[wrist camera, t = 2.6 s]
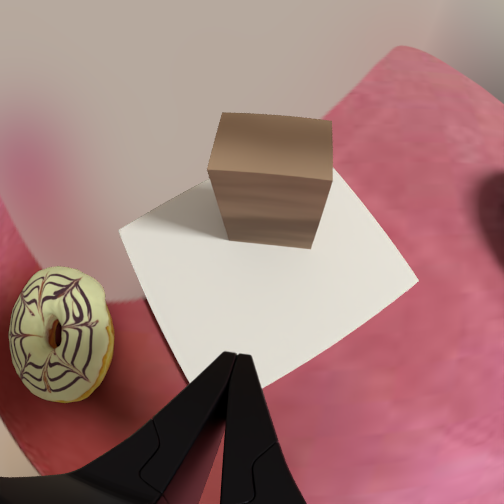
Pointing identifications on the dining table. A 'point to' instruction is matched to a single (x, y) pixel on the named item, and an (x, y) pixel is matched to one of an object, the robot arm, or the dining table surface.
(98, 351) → the decorated donut
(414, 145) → the dining table surface
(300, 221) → the walnut block
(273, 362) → the rubber mat
